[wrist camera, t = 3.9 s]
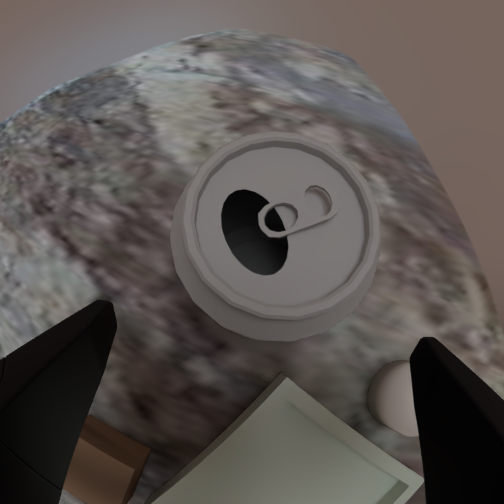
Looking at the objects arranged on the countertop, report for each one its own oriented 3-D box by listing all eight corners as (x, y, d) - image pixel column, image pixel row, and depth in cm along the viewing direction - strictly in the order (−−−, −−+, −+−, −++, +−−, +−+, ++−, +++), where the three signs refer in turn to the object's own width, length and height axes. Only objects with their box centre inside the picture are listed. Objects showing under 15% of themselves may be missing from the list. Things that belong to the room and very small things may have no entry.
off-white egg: (396, 435, 18) (420, 448, 14) (353, 402, 18) (373, 412, 15) (434, 383, 19) (462, 387, 15) (395, 346, 20) (421, 346, 16)
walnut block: (132, 495, 16) (115, 519, 12) (76, 462, 16) (51, 479, 12) (152, 448, 17) (134, 469, 13) (91, 414, 17) (64, 426, 14)
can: (187, 252, 21) (132, 155, 9) (286, 214, 22) (331, 95, 10) (229, 357, 19) (215, 386, 7) (332, 311, 20) (437, 275, 9)
